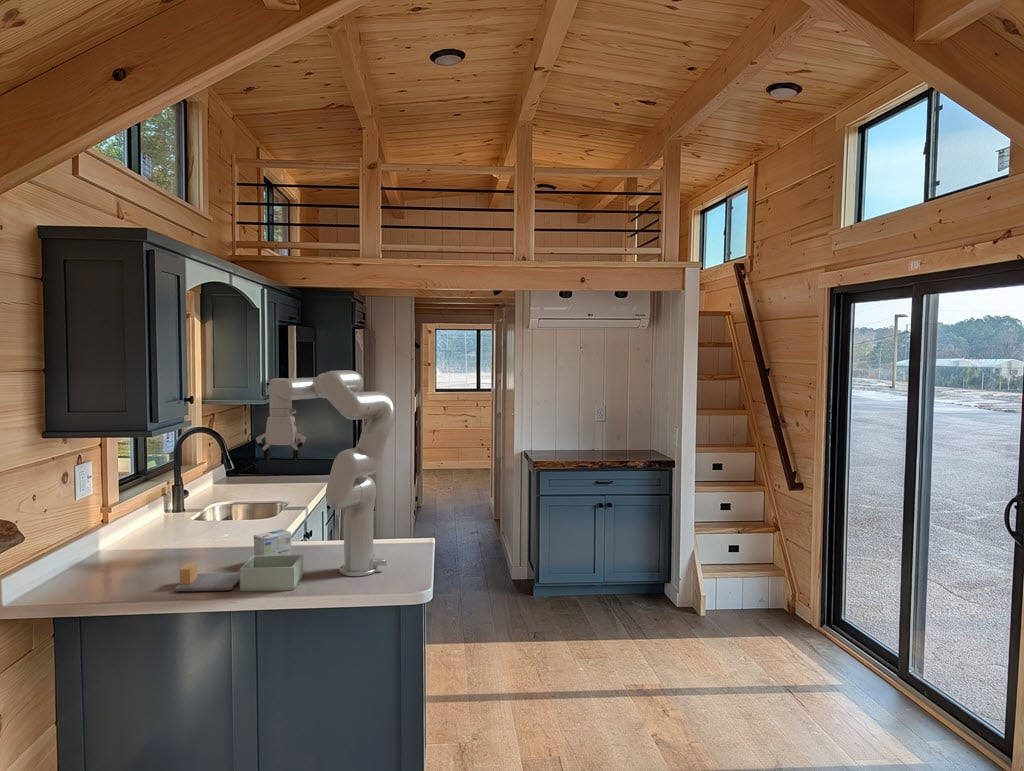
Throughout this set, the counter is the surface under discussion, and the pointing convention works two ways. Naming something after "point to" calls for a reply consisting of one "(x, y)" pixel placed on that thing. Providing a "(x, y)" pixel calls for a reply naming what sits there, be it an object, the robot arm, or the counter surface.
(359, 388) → the robot arm
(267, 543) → the light bulb box
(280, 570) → the parts tub
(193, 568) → the snap lid
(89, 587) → the counter surface
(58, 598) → the counter surface
